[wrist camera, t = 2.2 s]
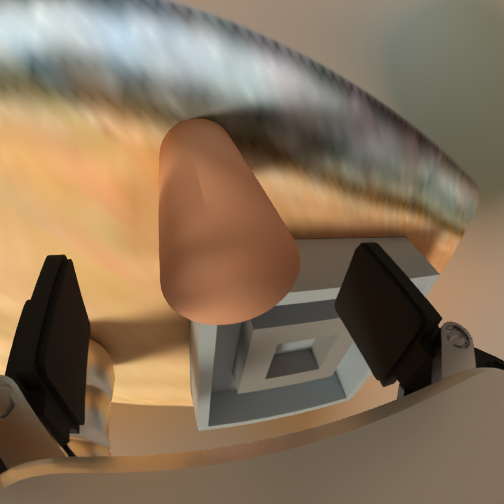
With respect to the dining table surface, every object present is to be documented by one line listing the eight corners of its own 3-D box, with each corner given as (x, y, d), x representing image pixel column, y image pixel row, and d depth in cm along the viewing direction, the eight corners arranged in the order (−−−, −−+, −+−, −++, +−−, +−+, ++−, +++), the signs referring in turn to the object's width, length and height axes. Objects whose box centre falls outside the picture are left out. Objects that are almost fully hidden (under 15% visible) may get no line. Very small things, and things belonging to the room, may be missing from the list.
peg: (161, 117, 14) (157, 218, 7) (236, 119, 16) (315, 217, 8) (159, 186, 17) (164, 329, 9) (228, 185, 18) (284, 318, 10)
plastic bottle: (118, 331, 23) (147, 585, 8) (112, 372, 27) (136, 573, 12) (44, 318, 20) (39, 575, 5) (50, 362, 24) (54, 566, 9)
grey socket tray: (191, 242, 20) (201, 299, 16) (405, 237, 25) (439, 274, 21) (190, 390, 32) (198, 430, 28) (335, 367, 37) (350, 399, 33)
